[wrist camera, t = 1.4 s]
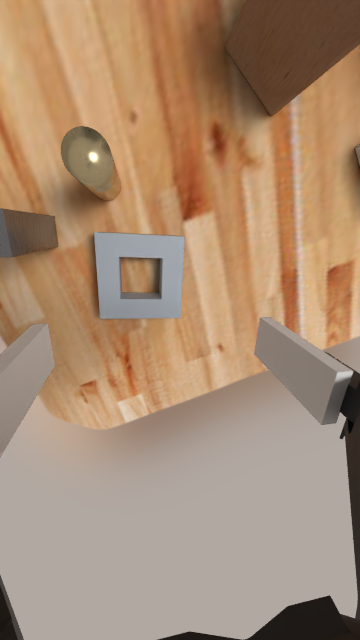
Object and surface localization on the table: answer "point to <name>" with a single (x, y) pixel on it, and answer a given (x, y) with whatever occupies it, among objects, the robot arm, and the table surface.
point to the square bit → (26, 233)
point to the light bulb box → (358, 152)
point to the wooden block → (291, 44)
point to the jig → (142, 246)
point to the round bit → (91, 162)
